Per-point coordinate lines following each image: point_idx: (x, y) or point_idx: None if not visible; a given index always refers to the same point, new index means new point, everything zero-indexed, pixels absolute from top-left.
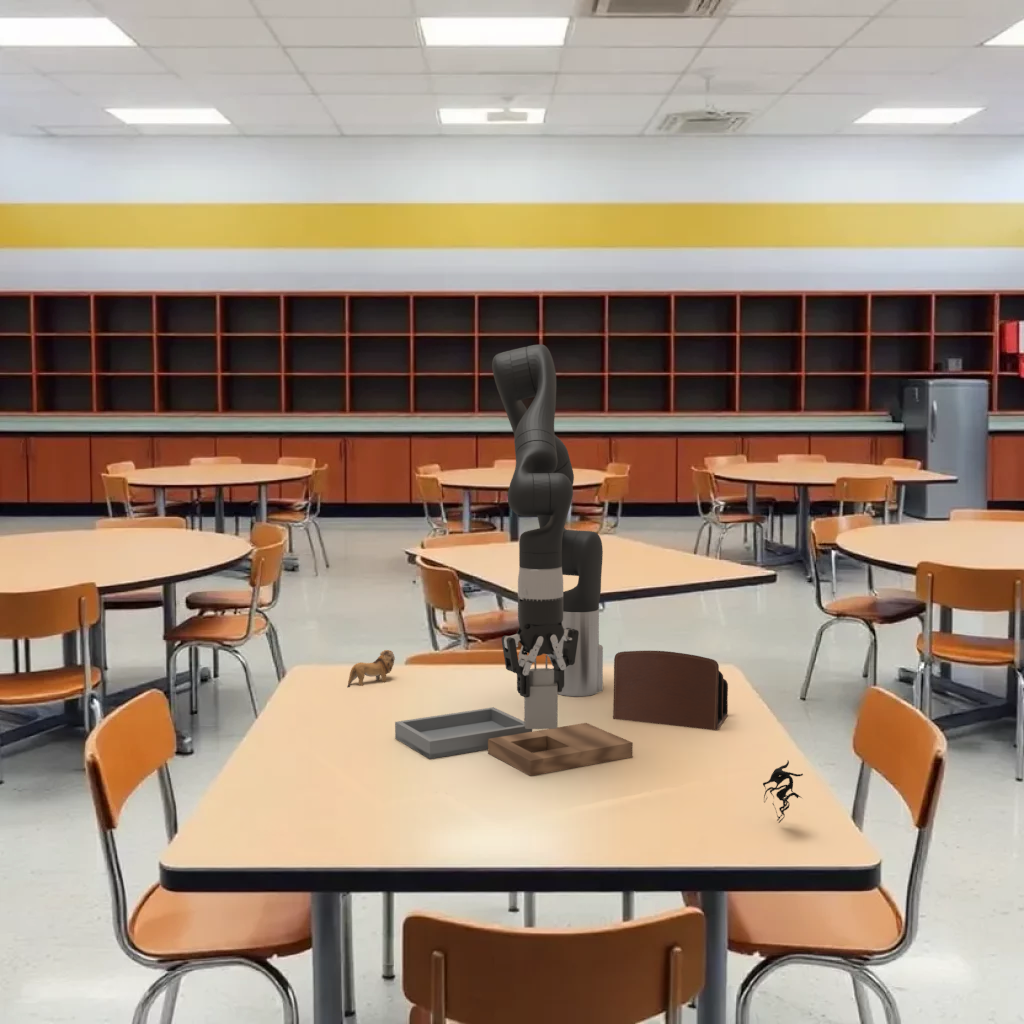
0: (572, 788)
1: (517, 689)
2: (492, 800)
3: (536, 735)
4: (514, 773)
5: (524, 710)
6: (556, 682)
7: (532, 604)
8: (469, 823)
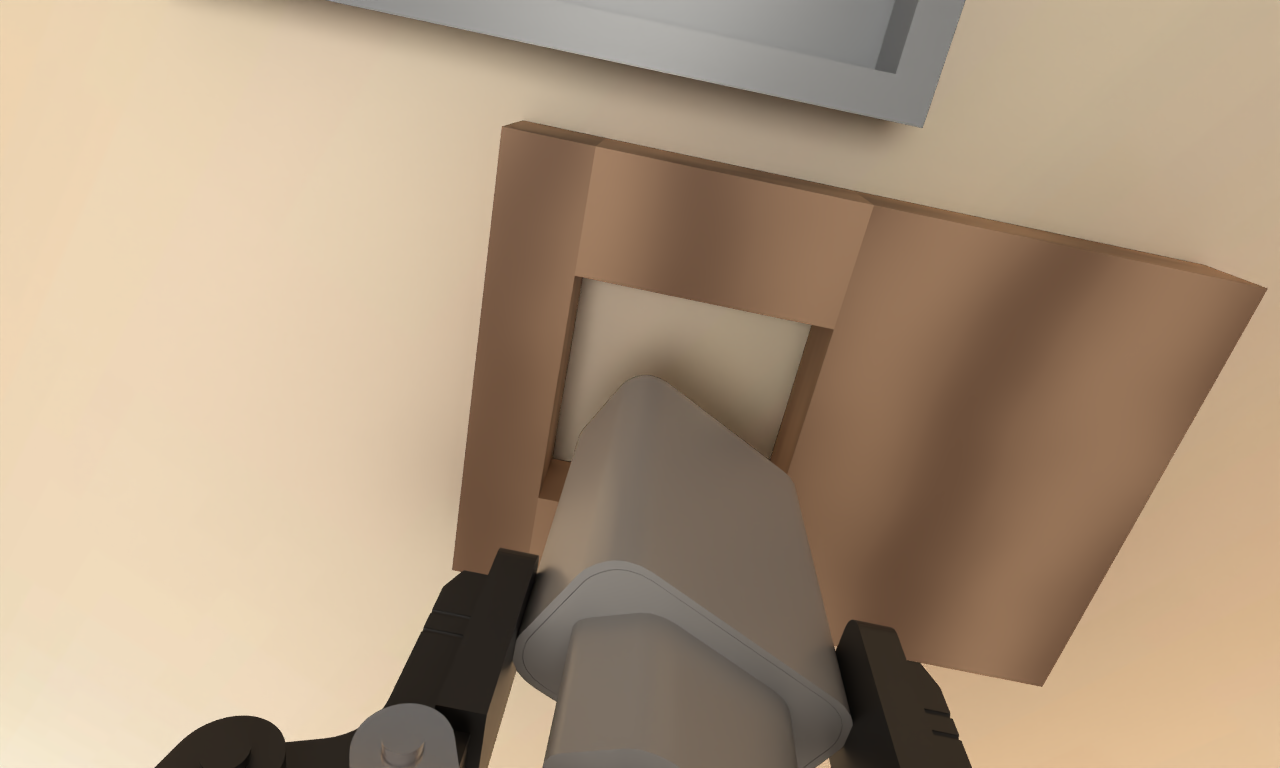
0: (515, 703)
1: (441, 596)
2: (188, 612)
3: (792, 285)
4: (438, 456)
5: (606, 439)
6: (843, 746)
7: None
8: (25, 699)
